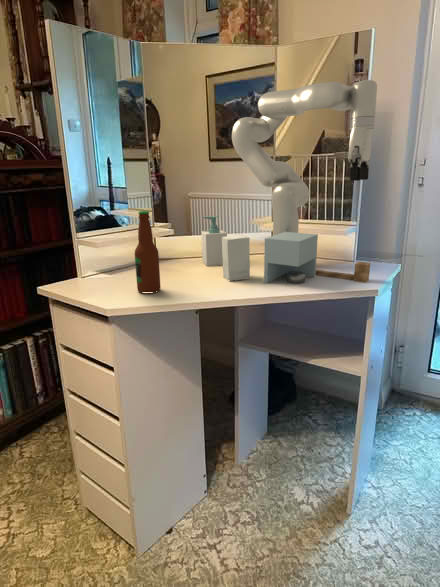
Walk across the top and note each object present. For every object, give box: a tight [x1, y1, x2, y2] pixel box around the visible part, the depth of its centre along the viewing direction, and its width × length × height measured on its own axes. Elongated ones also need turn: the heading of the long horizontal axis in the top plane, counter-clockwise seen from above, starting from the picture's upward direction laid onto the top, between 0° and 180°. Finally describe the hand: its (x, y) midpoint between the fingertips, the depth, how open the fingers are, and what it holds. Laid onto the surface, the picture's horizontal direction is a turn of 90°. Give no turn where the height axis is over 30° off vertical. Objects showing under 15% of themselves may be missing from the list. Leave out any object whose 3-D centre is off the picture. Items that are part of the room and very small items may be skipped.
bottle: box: [134, 210, 162, 293], centre depth 126 cm, size 7×7×25 cm
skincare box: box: [222, 234, 251, 281], centre depth 140 cm, size 8×6×15 cm
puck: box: [286, 271, 306, 285], centre depth 137 cm, size 6×6×3 cm
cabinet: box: [263, 232, 319, 284], centre depth 137 cm, size 12×16×15 cm
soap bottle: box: [201, 215, 228, 267], centre depth 163 cm, size 9×9×19 cm
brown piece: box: [315, 261, 371, 284], centre depth 140 cm, size 19×4×6 cm, turn 57°
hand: (359, 180), depth 134 cm, fingers open, 9 cm apart
